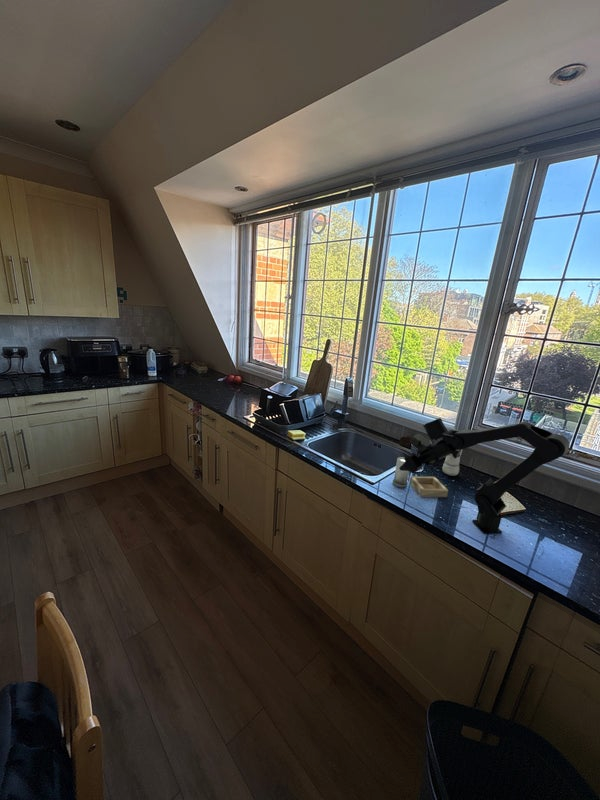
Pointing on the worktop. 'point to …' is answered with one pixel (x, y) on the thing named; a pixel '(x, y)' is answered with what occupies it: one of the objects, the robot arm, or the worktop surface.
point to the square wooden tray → (428, 486)
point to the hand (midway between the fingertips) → (406, 465)
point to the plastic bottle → (451, 465)
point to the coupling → (400, 474)
